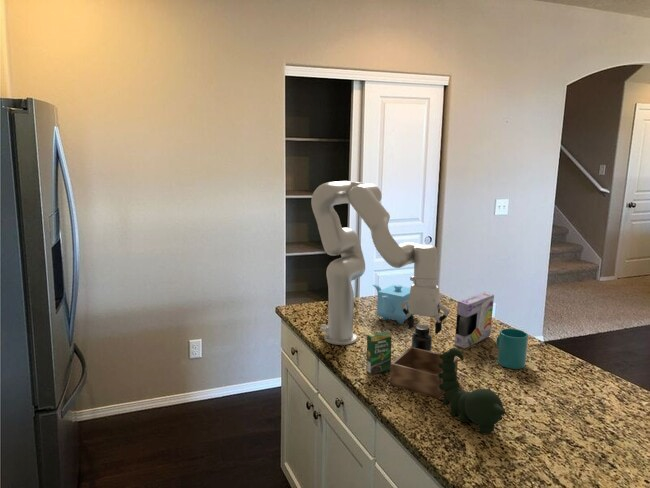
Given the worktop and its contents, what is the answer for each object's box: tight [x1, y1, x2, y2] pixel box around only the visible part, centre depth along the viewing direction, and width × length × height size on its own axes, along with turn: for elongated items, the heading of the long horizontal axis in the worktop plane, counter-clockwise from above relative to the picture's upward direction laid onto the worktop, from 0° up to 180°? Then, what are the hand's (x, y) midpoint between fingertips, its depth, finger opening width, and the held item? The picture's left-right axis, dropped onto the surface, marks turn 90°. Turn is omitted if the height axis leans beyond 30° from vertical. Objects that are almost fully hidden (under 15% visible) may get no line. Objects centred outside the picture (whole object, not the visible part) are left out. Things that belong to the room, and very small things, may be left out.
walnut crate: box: [389, 346, 459, 399], centre depth 159 cm, size 16×16×7 cm
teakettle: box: [372, 284, 415, 325], centre depth 216 cm, size 19×19×15 cm
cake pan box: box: [454, 291, 495, 349], centre depth 192 cm, size 19×5×18 cm, turn 131°
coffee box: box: [366, 330, 392, 375], centre depth 166 cm, size 8×3×13 cm, turn 115°
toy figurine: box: [438, 347, 507, 435], centre depth 136 cm, size 9×19×25 cm
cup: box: [496, 328, 529, 370], centre depth 174 cm, size 9×12×11 cm
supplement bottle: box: [410, 324, 433, 352], centre depth 175 cm, size 7×7×12 cm
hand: (424, 330), depth 174 cm, fingers open, 9 cm apart
